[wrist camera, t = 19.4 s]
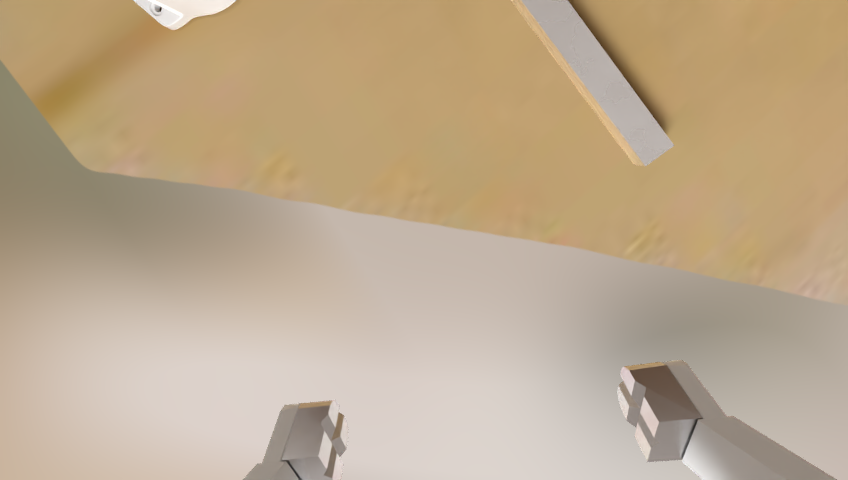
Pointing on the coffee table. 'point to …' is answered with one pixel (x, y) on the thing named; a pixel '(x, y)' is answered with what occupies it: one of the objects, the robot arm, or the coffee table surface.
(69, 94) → the coffee table surface
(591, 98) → the aluminium bar
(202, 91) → the coffee table surface
